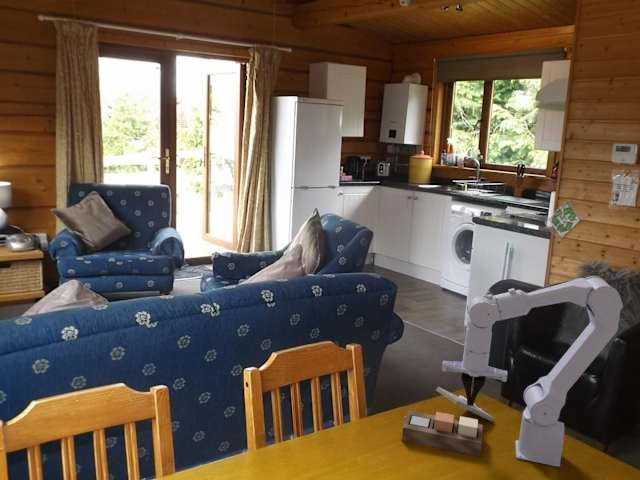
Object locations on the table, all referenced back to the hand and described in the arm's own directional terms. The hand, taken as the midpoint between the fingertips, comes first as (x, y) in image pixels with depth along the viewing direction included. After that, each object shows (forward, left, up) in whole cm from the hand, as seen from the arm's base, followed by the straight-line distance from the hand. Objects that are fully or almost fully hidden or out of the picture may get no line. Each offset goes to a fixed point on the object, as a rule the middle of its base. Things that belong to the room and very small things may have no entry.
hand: (470, 404), depth 141 cm
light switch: (+1, -13, -11) cm, 17 cm away
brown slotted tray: (+6, 0, -10) cm, 12 cm away
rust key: (+6, 0, -7) cm, 9 cm away
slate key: (+11, 0, -10) cm, 15 cm away
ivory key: (0, 0, -8) cm, 8 cm away
